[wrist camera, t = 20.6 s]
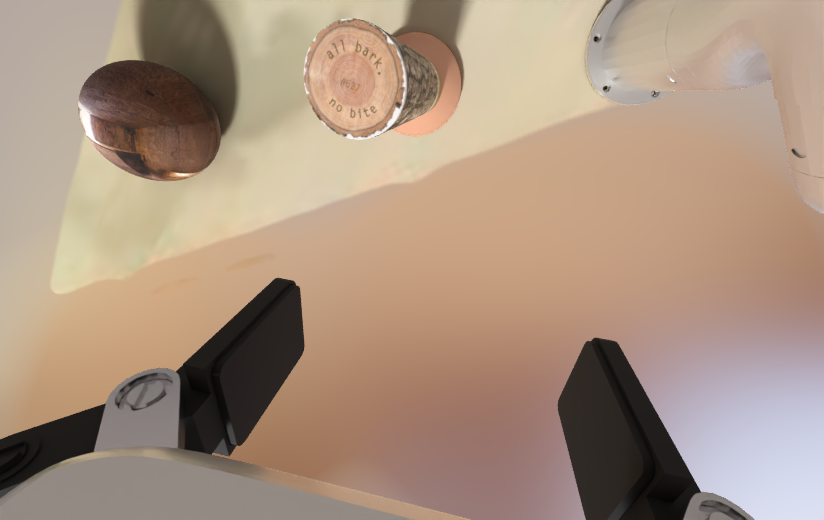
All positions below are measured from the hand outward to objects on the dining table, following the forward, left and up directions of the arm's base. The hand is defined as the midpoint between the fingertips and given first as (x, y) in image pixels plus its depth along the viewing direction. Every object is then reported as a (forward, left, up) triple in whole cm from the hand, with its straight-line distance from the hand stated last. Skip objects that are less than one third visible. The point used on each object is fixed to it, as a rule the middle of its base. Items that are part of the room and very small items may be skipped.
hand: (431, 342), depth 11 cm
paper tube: (+8, -7, -40) cm, 41 cm away
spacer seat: (+8, -7, -40) cm, 42 cm away
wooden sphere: (+42, +1, -40) cm, 58 cm away
